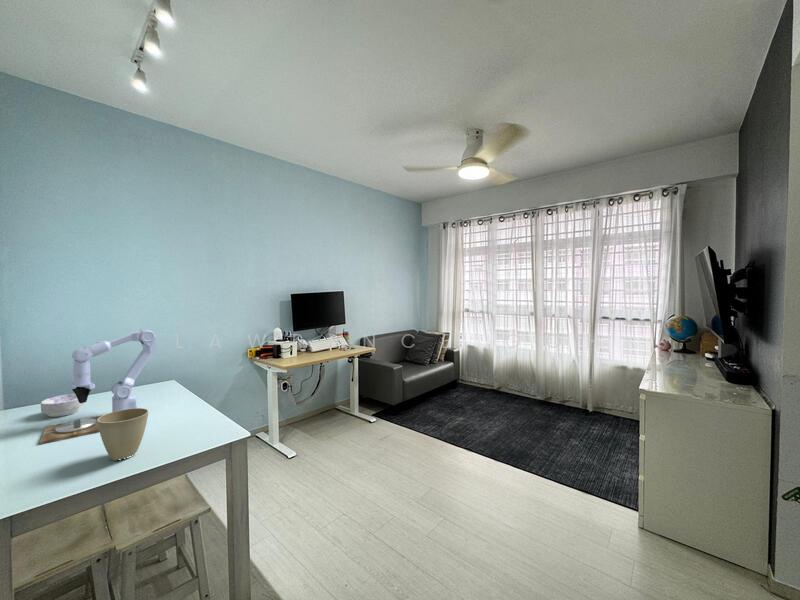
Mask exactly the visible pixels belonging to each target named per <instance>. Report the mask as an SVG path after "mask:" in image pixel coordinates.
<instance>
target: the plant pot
mask: <svg viewBox="0 0 800 600" xmlns="http://www.w3.org/2000/svg"><path fill="white" fill-rule="evenodd" d="M100 416H101V417H99V416H98V417H99V418H98V419H97V422H98V427H99V432H98V433H99V435H100V438H101V441H102V444H103V446H104V448H105V450H106V452H107V454H108V457H109V458H110V460H111V459H112V460H111V461H113V460H119V459H124V458H127V457H129V456H132V455H134V454H135V453H136V452H138V450H139V448H140V446H141V443H142V441H143V437H144V435H145V430H146V426H147V423H148V417H149V409H147V408H142V407H140V408H138V407H137V408H133V409H125V410H119V411H115V412H108V413H105V414H103V415H100ZM136 454H137V453H136ZM136 454H135V455H136ZM135 455H134V456H135Z"/></svg>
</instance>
